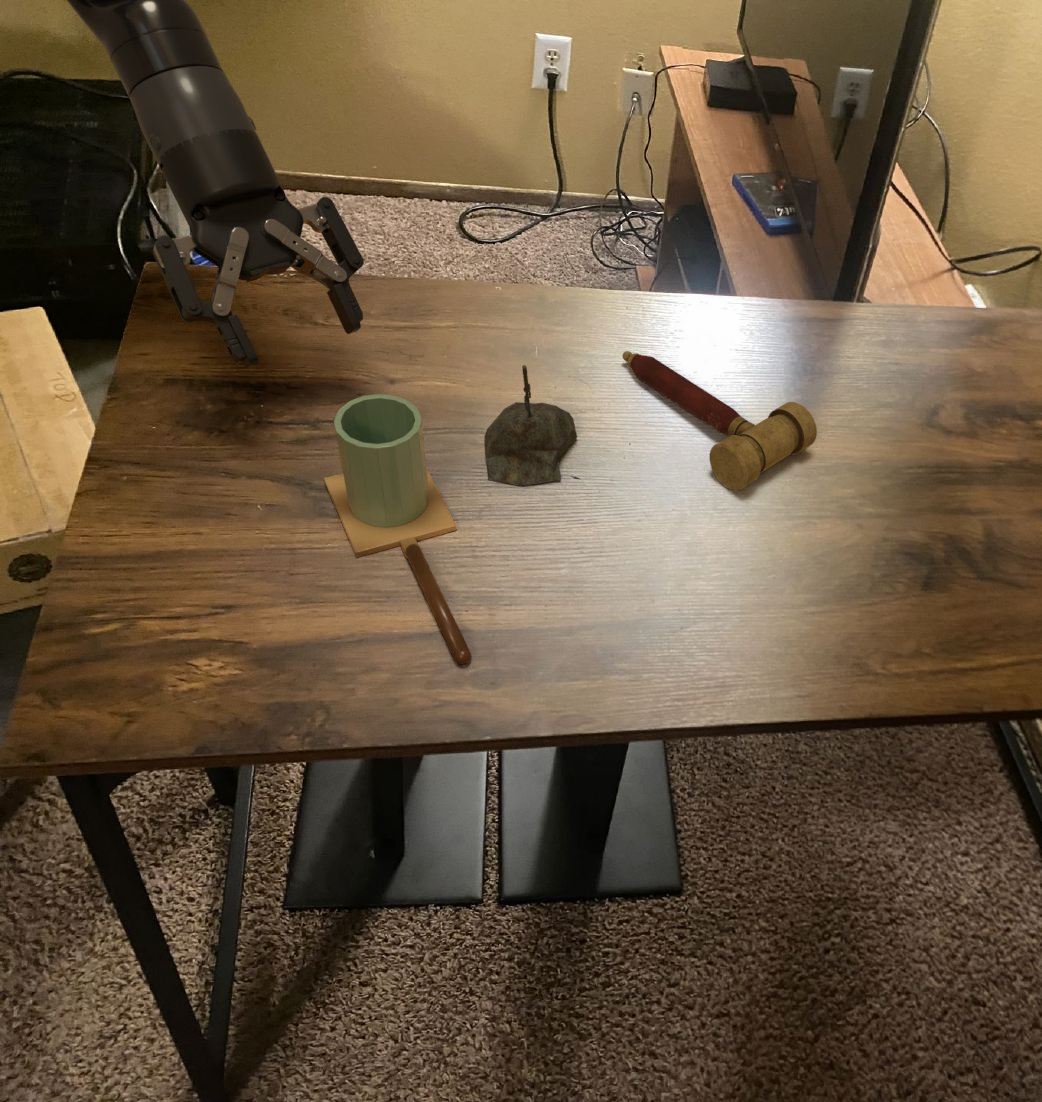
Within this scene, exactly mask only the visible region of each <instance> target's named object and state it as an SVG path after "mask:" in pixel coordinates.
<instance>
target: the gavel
mask: <svg viewBox="0 0 1042 1102" xmlns="http://www.w3.org/2000/svg"><path fill="white" fill-rule="evenodd" d="M622 359H623V360H624V362H627V365H628V367H629V368H630V369H631V370H632V371H633V373H634V375H635V376H636V377H637V379H638V380H639V381H641V382H642V383H644V384H646V385H647V386H648V387H650V388H651V389H653V390H654V391H656V392H658V393H659V394H661V395H662V396H663V397H664V398H666V399H668V400H670V401H671V402H673V403H674V404H675V405H678V406H679V407H680V408H682V409H683V410H685V411H687V412H688V413H689V414H691V415H692V416H694V417H695V418H696V419H699V420H700V421H702V422H703V423H704V424H706V425H708V426H709V427H710V428H712V429H713V430H715V431H717V432H718V433H720V434H723V435H725V436H727V437H725V438H724V439H722V440H721V441H719V442H717V443H715V444H713V445H712V447H711V448H710V450H709V459H708V460H709V465H710V467H711V470H712V472H713V474H714V476H715V477H716V479H717V480H718V481H719V482H720V483H721V484H722V485H723V486H724V487H726V488H727V489H729V490H732V491H740V490H742V489H744V488H746V487H747V486H749V485H751V484H752V483H753V482H755V481H757V480H758V479H759V477H760V476H761V474H762V473H763V472H764V471H766V470H768V469H769V468H771V467H772V466H774V465H776V464H777V463H779V462H780V461H782V460H784V459H785V458H786V457H788V456H790V455H797V454H800V453H801V452H802V451H804V450H805V449H807V448H809V447H810V446H812V445H813V444H814V443H815V441H816V440H817V439H816V438H817V434H818V429H817V425H816V421H815V419H814V417H813V415H812V414H811V412H810V411H809V410H808V409H807V408H806V407H805V406H804V405H802V404H801V403H799V402H797V401H796V402H795V401H787V402H786V403H784V404H782V405H780V406H779V407H777V408H775V409H773V410H772V411H771V412H770V413H769V414H768V417H767V418H765V419H762V420H761V421H760V422H758V423H756V424H754V423H753V422H751V421H748V420H747V419H746V418H744V417H743V416H742V415H740V413H738V412H737V411H736V410H735V409H734V408H732V407H731V406H730V405H728V404H726V403H725V402H724V401H722V400H721V399H719V398H717V397H716V396H714V395H713V394H711V393H710V392H708V391H707V390H705V389H703V388H702V387H701V386H698V385H697V384H695V383H693V382H692V381H690V380H689V379H688V378H686V377H685V376H683V375H682V374H680V373H678V372H677V371H675V370H673V368H670V367H669V366H667V365H666V364H665V363H663V362H661V361H660V360H658V359H656V358H654V356H649V355H644V354H640V353H637V352H635V353H632V352H631V351H629V350H626V351H623V353H622Z"/></svg>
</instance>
